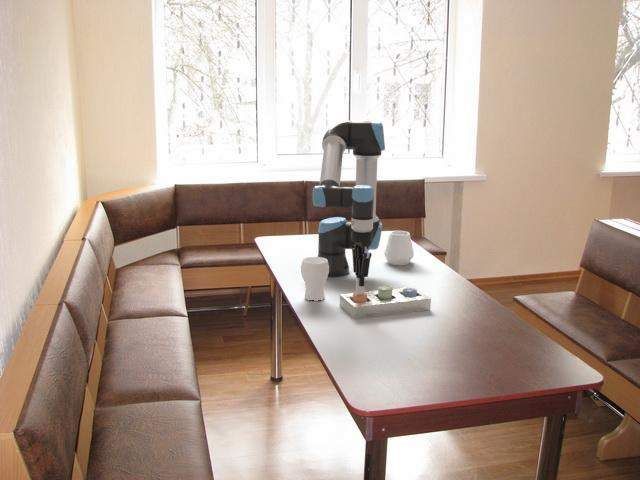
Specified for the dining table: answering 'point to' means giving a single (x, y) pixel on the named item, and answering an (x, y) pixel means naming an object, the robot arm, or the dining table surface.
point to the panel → (384, 304)
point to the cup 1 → (314, 277)
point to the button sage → (385, 293)
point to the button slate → (409, 292)
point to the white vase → (399, 248)
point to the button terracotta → (359, 298)
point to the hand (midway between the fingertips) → (360, 293)
